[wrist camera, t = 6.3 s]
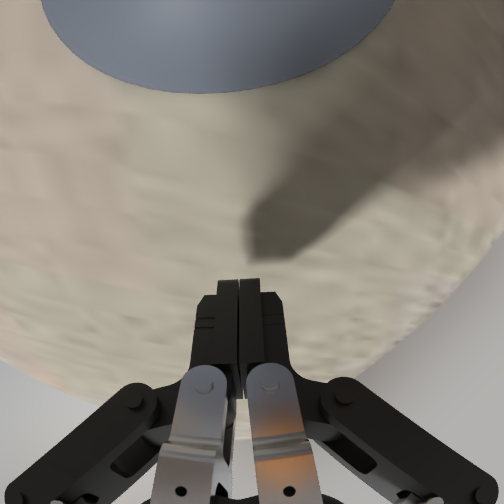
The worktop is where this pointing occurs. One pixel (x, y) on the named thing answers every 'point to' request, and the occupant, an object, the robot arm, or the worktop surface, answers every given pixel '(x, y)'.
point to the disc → (211, 39)
